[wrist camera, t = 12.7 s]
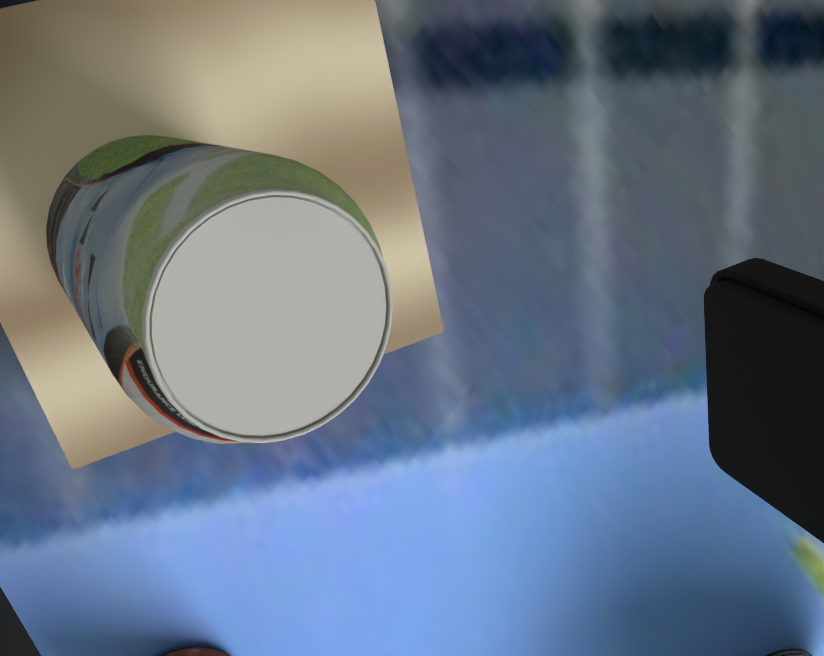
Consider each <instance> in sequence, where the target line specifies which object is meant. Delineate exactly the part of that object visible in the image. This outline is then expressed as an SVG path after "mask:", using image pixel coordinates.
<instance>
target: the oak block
mask: <svg viewBox="0 0 824 656" xmlns="http://www.w3.org/2000/svg"><path fill="white" fill-rule="evenodd" d="M140 135H156V136H167V137H173V138H179V139H185V140H191V141H196V142H202V143H208V144H214V145H220V146H226V147H232V148H238V149H243V150H249V151H255V152H261V153H267V154H272V155H276V156H280V157H284V158H288V159H292V160H295V161H298V162H300V163H302V164H304V165H306V166H308V167H311V168H313V169H315V170H317V171H319V172H321V173H322V174H323V175H325V176H326V177H328V178H329V179H330V180H332V181H333V182H335V183H336V184H337V185H339V186H340V187H341V188H342V189H343V190H344V191H345V192H346V193H347V194H348V195H349V196H350V197H351V198H352V199H353V200H354V201H355V203H356V204H357V205H358V207H359V208H360V209H361V211H362V212H363V214H364V215H365V217H366V218H367V220H368V221H369V223H370V225H371V227H372V229H373V231H374V234H375V236H376V238H377V240H378V243H379V245H380V248H381V252H382V256H383V259H384V262H385V264H386V266H387V270H388V274H389V278H390V282H391V288H392V301H393V311H392V324H391V329H390V334H389V338H388V342H387V346H386V349H385V351H384V354H386V353H389V352H391V351H394V350H397V349H399V348H402V347H405V346H407V345H410V344H413V343H415V342H418V341H421V340H424V339H426V338H429V337H432V336H434V335H437V334H440V333H442V332H444V328H443V324H442V319H441V314H440V309H439V304H438V300H437V295H436V290H435V285H434V280H433V276H432V271H431V266H430V261H429V257H428V252H427V247H426V242H425V237H424V233H423V228H422V223H421V218H420V213H419V209H418V204H417V199H416V194H415V190H414V185H413V180H412V175H411V170H410V166H409V161H408V156H407V151H406V147H405V142H404V137H403V132H402V127H401V123H400V118H399V113H398V108H397V103H396V99H395V94H394V89H393V84H392V80H391V75H390V70H389V65H388V60H387V56H386V51H385V46H384V41H383V36H382V32H381V27H380V22H379V17H378V13H377V8H376V3H375V0H37V1H33V2H28V3H23V4H19V5H14V6H10V7H5V8H0V323H1V325H2V327H3V329H4V331H5V333H6V335H7V337H8V339H9V341H10V343H11V345H12V347H13V349H14V351H15V354H16V356H17V358H18V360H19V362H20V364H21V366H22V368H23V370H24V372H25V374H26V376H27V378H28V380H29V382H30V384H31V386H32V388H33V390H34V392H35V394H36V396H37V398H38V401H39V403H40V405H41V407H42V409H43V411H44V413H45V415H46V417H47V419H48V421H49V423H50V425H51V427H52V429H53V431H54V433H55V435H56V437H57V439H58V441H59V443H60V446H61V448H62V450H63V452H64V454H65V456H66V458H67V460H68V462H69V464H70V466H71V468H72V470H73V469H76V468H79V467H82V466H84V465H87V464H90V463H92V462H95V461H98V460H100V459H103V458H106V457H108V456H111V455H114V454H117V453H119V452H122V451H125V450H127V449H130V448H133V447H135V446H138V445H141V444H143V443H146V442H149V441H152V440H154V439H157V438H160V437H162V436H165V435H168V434H170V433H173V432H176V431H173V430H171V429H168V428H167V427H165V426H163V425H162V424H160V423H159V422H157V421H156V420H154V419H153V418H151V417H150V416H148V415H147V414H145V413H144V412H143V411H142V410H141V409H140V408H139V407H138V406H137V405H136V404H135V403H134V402H133V401H132V400H131V399H130V398H129V397H128V396H127V395H126V393H125V392H124V390H123V389H122V388H121V386H120V385H119V383H118V382H117V380H116V379H115V377H114V376H113V374H112V373H111V371H110V369H109V368H108V366H107V364H106V362H105V361H104V359H103V357H102V356H101V354H100V352H99V350H98V349H97V347H96V345H95V343H94V342H93V340H92V338H91V337H90V335H89V333H88V331H87V330H86V328H85V326H84V324H83V323H82V321H81V319H80V317H79V316H78V314H77V312H76V311H75V309H74V307H73V305H72V304H71V302H70V300H69V298H68V297H67V295H66V293H65V292H64V290H63V288H62V286H61V285H60V283H59V281H58V279H57V277H56V274H55V272H54V270H53V268H52V265H51V262H50V258H49V253H48V249H47V238H46V225H47V219H48V213H49V208H50V205H51V203H52V200H53V197H54V195H55V192H56V190H57V188H58V187H59V185H60V184H61V182H62V180H63V179H64V177H65V175H66V174H67V173H68V172H69V171H70V170H71V169H72V168H73V167H74V166H75V164H76V163H77V162H78V161H80V160H81V159H82V158H84V157H85V156H86V155H88V154H89V153H90V152H92V151H93V150H95V149H97V148H99V147H101V146H103V145H105V144H107V143H109V142H112V141H115V140H119V139H122V138H126V137H131V136H140Z"/></svg>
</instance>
